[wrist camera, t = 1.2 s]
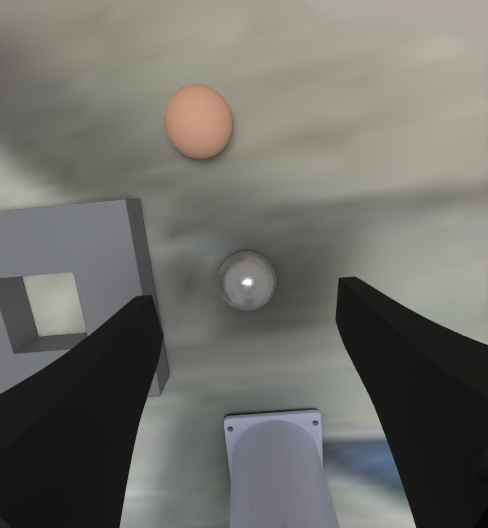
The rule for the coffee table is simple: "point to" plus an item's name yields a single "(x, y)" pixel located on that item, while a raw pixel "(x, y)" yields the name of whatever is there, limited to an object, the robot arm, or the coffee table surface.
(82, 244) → the grey square frame
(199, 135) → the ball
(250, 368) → the coffee table surface
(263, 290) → the steel ball
